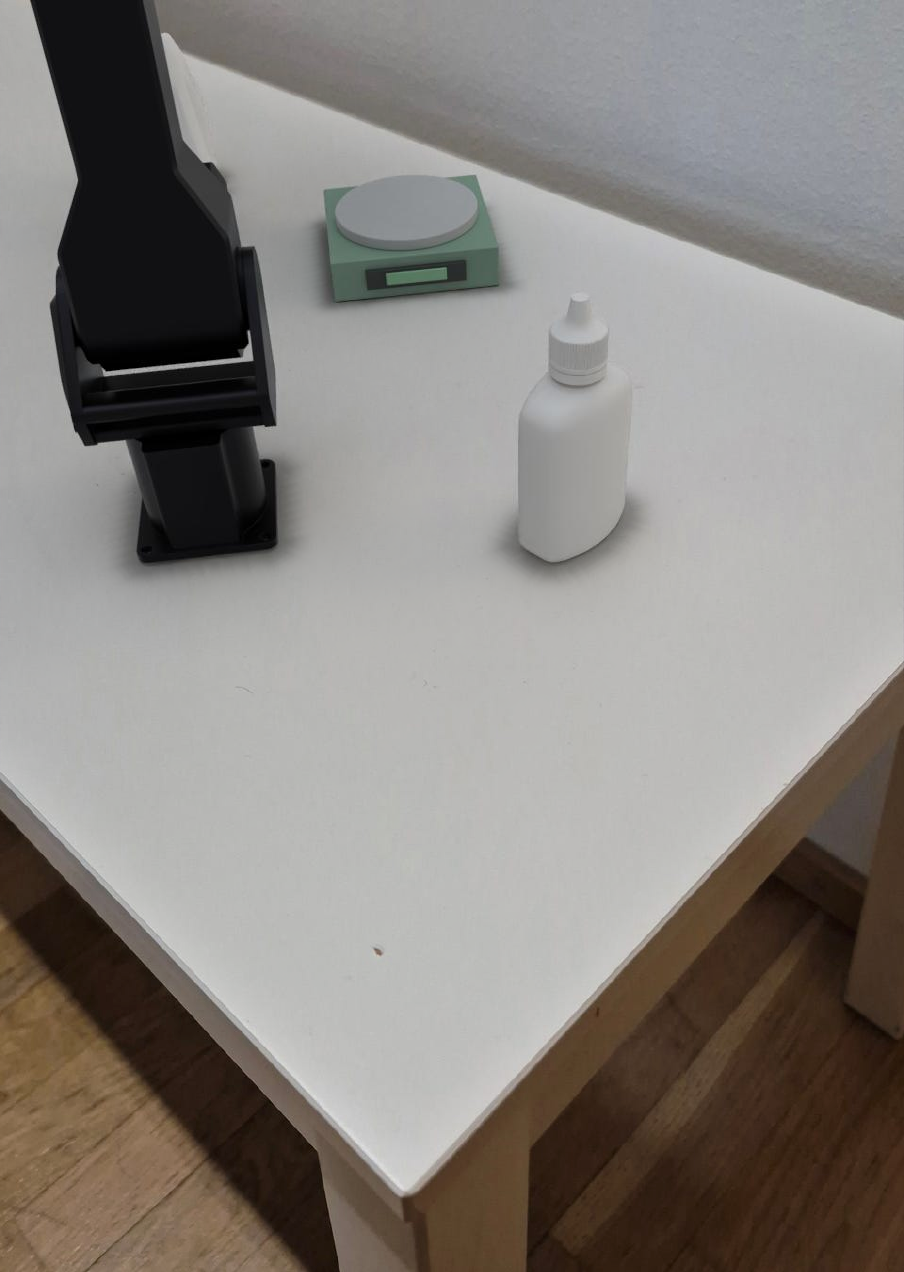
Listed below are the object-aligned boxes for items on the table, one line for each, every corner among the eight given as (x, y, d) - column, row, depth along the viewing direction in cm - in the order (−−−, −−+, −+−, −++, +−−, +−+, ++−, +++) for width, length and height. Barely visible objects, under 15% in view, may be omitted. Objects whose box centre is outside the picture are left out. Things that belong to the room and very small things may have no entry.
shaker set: (232, 240, 76) (198, 63, 68) (167, 250, 76) (126, 72, 68) (217, 165, 84) (186, -1, 76) (159, 173, 84) (121, 6, 76)
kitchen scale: (500, 289, 70) (499, 239, 68) (335, 306, 70) (329, 256, 67) (477, 211, 78) (475, 163, 75) (327, 225, 77) (321, 178, 75)
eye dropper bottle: (500, 513, 56) (495, 284, 47) (609, 488, 56) (624, 258, 48) (530, 572, 53) (531, 338, 44) (645, 544, 53) (668, 310, 45)
